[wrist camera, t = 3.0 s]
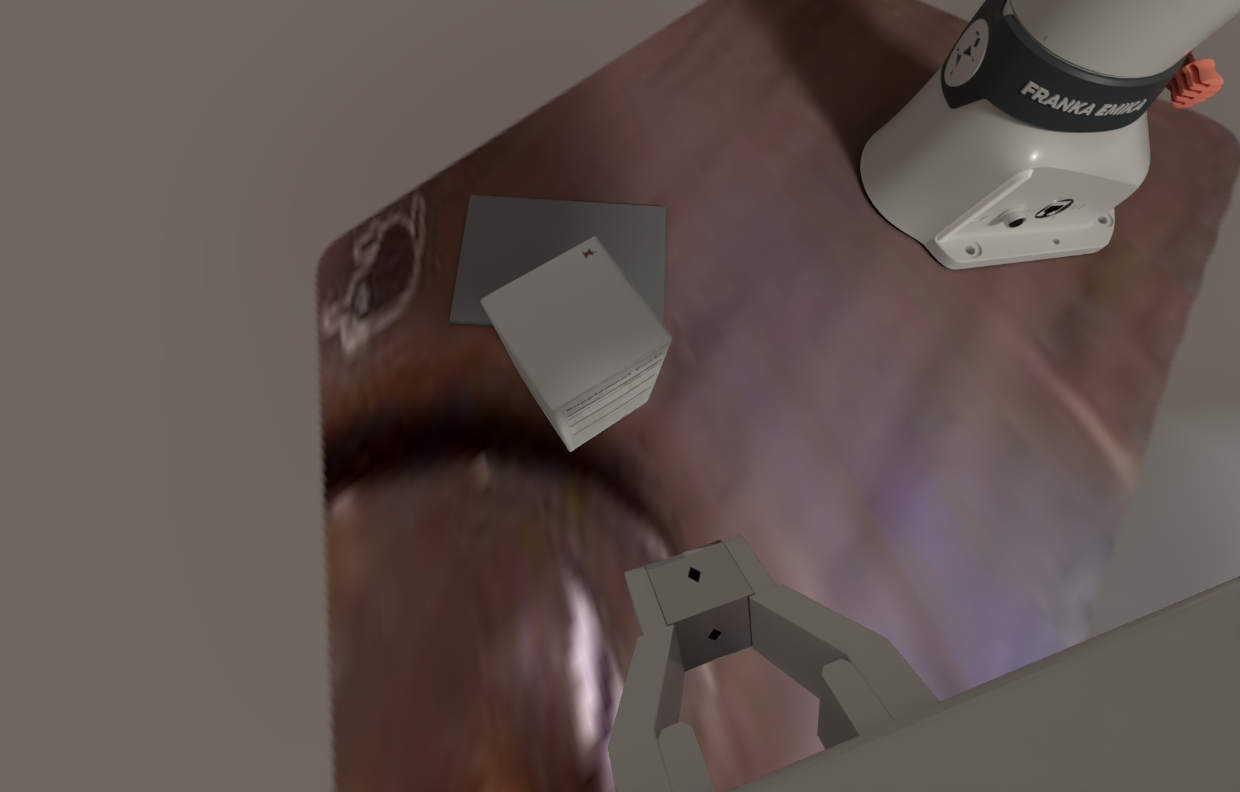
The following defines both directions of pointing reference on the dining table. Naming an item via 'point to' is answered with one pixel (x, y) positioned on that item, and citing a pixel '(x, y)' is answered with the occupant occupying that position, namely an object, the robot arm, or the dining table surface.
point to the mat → (554, 245)
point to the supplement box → (580, 340)
